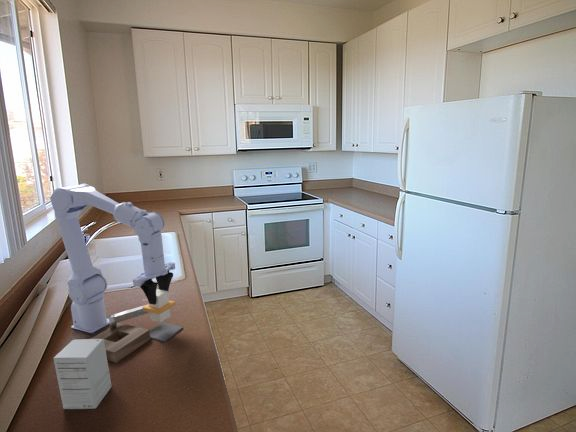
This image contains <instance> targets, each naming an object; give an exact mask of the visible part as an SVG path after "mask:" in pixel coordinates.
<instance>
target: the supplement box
mask: <svg viewBox="0 0 576 432" xmlns="http://www.w3.org/2000/svg"><path fill="white" fill-rule="evenodd" d="M53 364H54V367H55V368H54V369H55V373H56V378H57V383H58V387H59V394H60V398H61V404H62V408H63V409H64V410H87V409H88V410H89V409H91V410H92V409H93V410H94V409H97V408H98V406H99V405H100V404H101V402H102V400H103V399H104V398H105V396H107V394H108V392H109V391H110V390H111V388H112V381H111V374H110V368H109V362H108V360H107V356H106V350H105V344H104V339H91V338H88V339H87V338H81V339H78V338H77V339H72V340H71V341H70V342H69V343H68V344H67V345H66V346H65V347H64V348H62V349H61V350H60V351H59V352H58V353H57V354H56V355H55V356H54V357H53Z"/></svg>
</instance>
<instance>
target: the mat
mask: <svg viewBox="0 0 576 432" xmlns="http://www.w3.org/2000/svg"><path fill="white" fill-rule="evenodd" d="M183 329H184V326H180V325H177V324H171V323H166V322H164V321H162V322H160V323H159V324H157V325H156V326H155V327H154V328H152V329H149V333H150V340H151V339H152V340H155V341H159V342H164V343H165V342H167V341H168V340H169V339H170V338H172V337H174V336H175V335H176V334H177V333H179V332H180V331H181V330H183Z"/></svg>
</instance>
